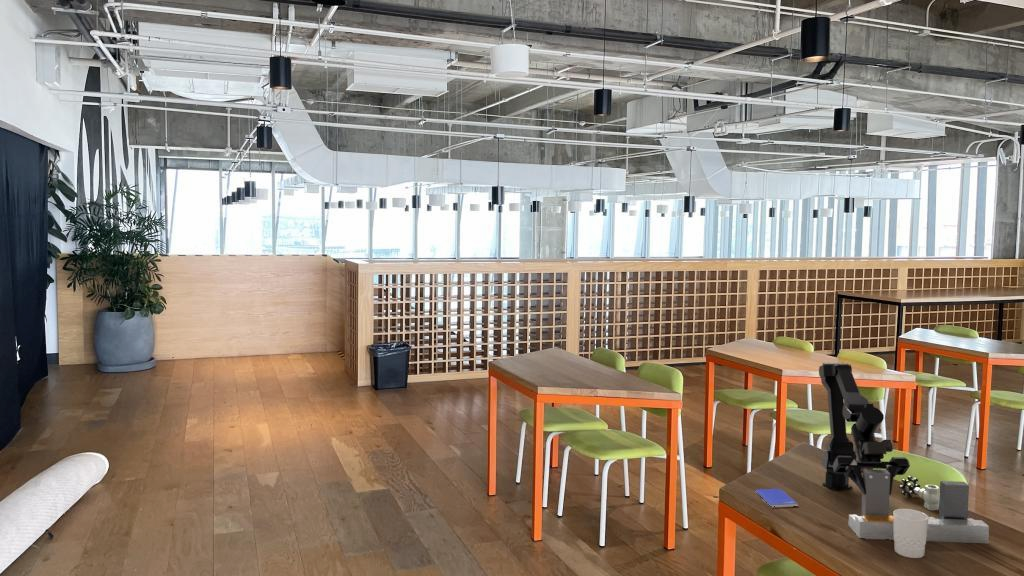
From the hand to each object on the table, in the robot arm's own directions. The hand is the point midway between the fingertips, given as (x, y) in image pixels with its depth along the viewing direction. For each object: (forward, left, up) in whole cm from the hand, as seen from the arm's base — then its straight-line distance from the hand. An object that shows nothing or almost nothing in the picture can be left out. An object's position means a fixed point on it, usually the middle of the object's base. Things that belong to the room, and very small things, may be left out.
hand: (877, 494), depth 207 cm
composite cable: (-38, -35, -11) cm, 52 cm away
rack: (-8, +5, -10) cm, 14 cm away
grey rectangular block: (-1, -1, -7) cm, 7 cm away
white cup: (+3, +13, -11) cm, 17 cm away
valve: (-29, -9, -11) cm, 32 cm away
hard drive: (+7, -30, -11) cm, 33 cm away
